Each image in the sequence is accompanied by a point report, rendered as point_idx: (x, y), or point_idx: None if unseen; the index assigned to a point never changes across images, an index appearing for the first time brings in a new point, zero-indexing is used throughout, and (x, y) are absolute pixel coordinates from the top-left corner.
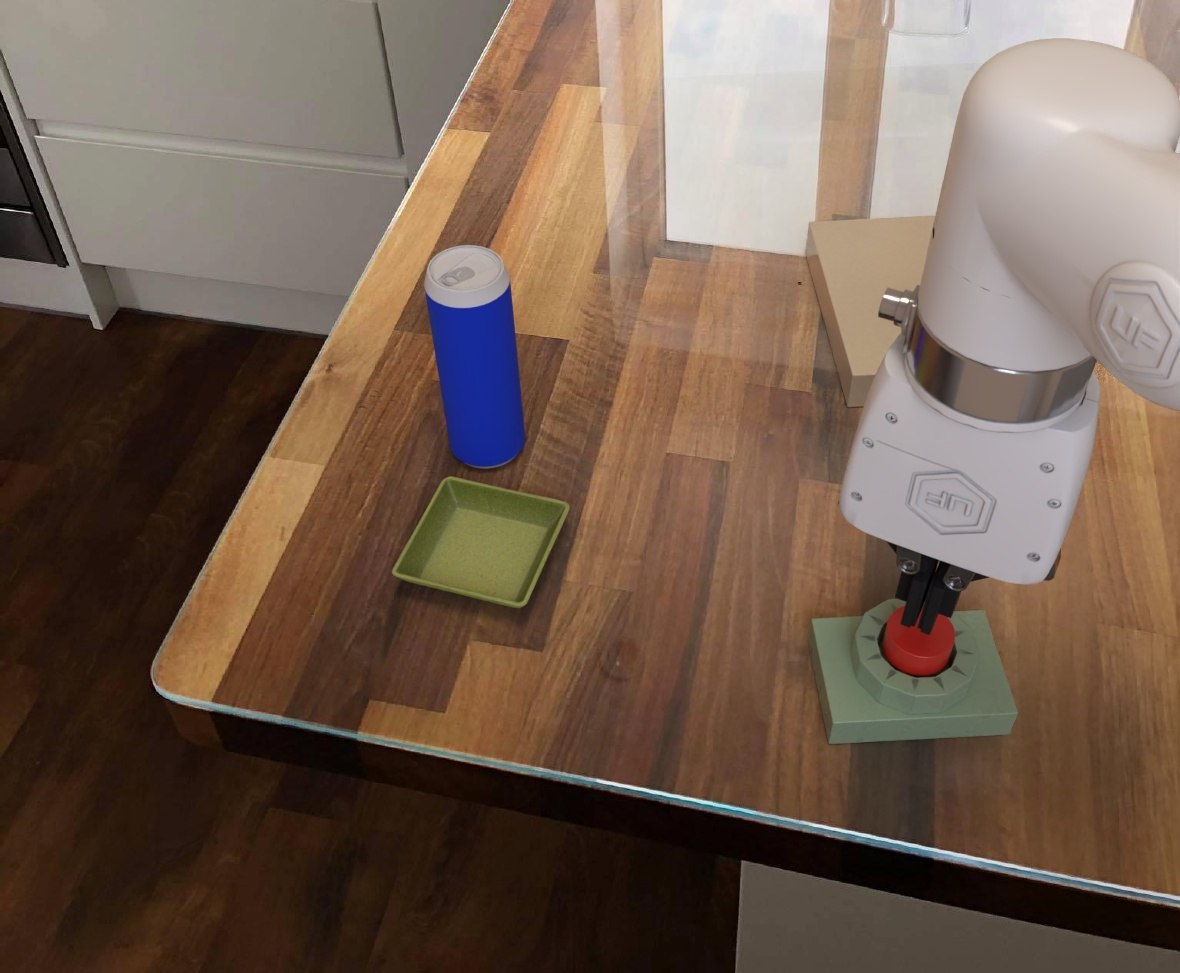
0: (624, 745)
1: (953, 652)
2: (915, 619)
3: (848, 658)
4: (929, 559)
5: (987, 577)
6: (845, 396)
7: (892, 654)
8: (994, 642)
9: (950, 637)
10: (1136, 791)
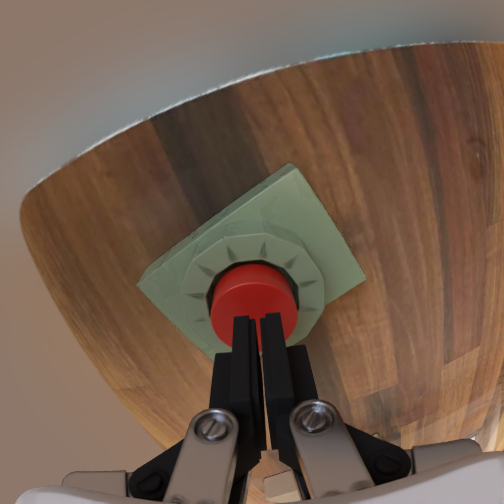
0: (443, 78)
1: None
2: (261, 328)
3: (315, 254)
4: (280, 440)
5: (163, 453)
6: (380, 437)
7: (272, 275)
8: (193, 342)
9: (218, 328)
10: (56, 270)
